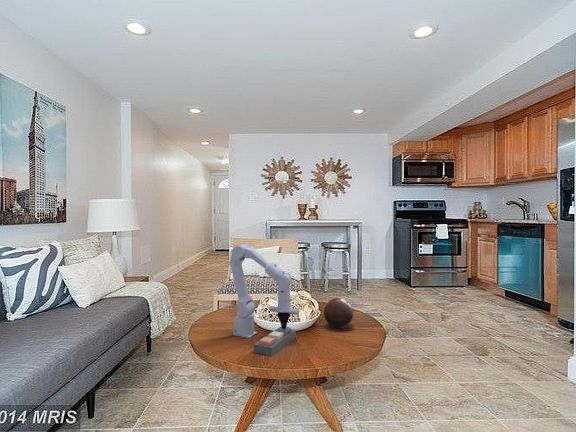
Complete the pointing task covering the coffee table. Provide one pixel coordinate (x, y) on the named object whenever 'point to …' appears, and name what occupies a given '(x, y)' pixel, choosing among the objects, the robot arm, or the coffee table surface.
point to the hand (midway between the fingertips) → (284, 328)
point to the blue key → (284, 330)
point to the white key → (276, 335)
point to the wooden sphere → (338, 313)
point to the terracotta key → (267, 341)
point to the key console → (275, 344)
